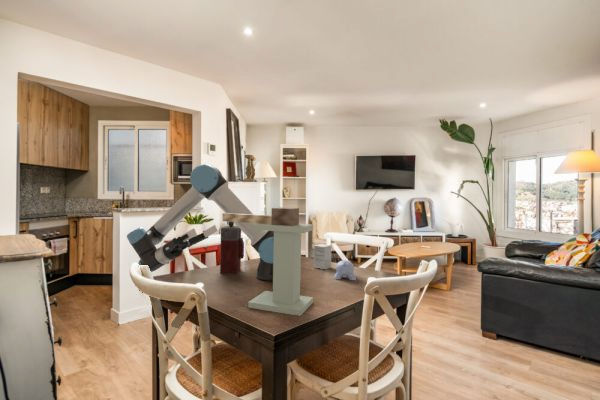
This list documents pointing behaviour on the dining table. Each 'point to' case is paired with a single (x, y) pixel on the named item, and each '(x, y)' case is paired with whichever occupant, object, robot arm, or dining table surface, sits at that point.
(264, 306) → the stand
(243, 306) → the dining table surface
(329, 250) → the supplement box
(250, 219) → the mallet
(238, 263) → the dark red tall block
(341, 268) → the hippopotamus toy
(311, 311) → the dining table surface
